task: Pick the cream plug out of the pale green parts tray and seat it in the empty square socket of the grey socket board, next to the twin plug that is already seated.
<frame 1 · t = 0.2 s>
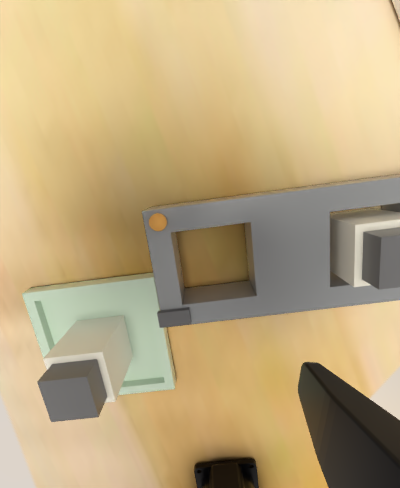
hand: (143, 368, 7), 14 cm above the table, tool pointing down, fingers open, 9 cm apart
parts tray: (107, 335, 23), on the table
grey socket board: (278, 245, 21), on the table
plug: (105, 338, 22), resting on parts tray
twin plug: (345, 236, 20), resting in grey socket board
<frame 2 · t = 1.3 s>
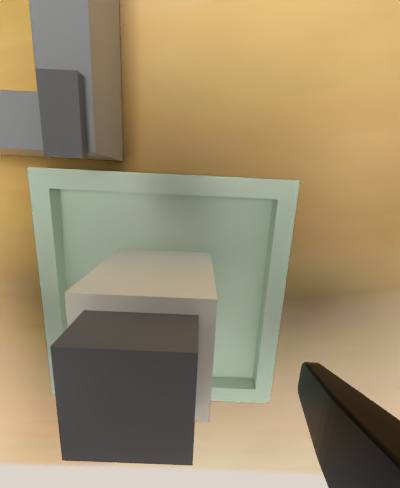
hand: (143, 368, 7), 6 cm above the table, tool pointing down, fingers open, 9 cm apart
parts tray: (166, 288, 12), on the table
plug: (164, 292, 12), resting on parts tray
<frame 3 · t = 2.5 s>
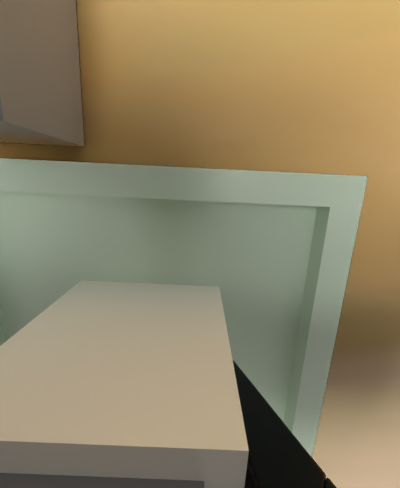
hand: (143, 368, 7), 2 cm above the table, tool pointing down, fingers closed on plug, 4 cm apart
parts tray: (153, 334, 9), on the table
plug: (150, 343, 8), resting on parts tray, touching gripper
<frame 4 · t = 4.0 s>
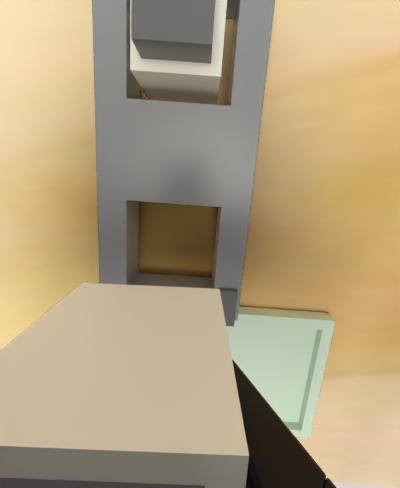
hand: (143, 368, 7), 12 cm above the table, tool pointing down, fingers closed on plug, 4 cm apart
parts tray: (248, 367, 21), on the table
grey socket board: (180, 160, 17), on the table
plug: (150, 345, 8), point 11 cm above the table, touching gripper
twin plug: (185, 68, 16), resting in grey socket board
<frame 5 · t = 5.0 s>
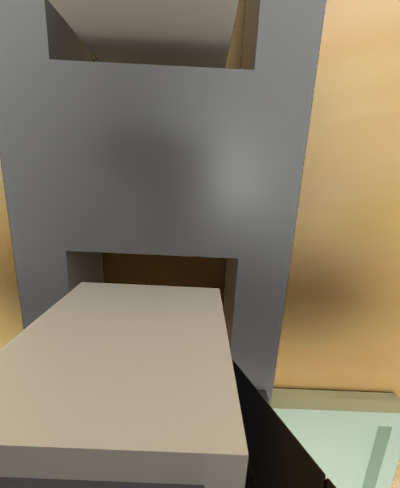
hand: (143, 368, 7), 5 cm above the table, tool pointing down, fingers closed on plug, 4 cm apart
parts tray: (276, 469, 14), on the table
grey socket board: (165, 172, 10), on the table
plug: (150, 345, 8), point 4 cm above the table, touching gripper
twin plug: (168, 16, 9), resting in grey socket board
when the fingers open (3 cm above the table, at t = 5.6 s): plug drops 2 cm, resting in grey socket board.
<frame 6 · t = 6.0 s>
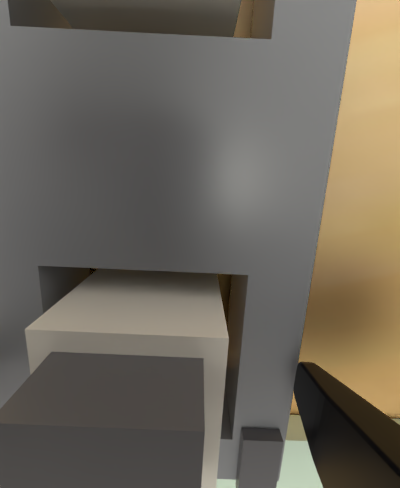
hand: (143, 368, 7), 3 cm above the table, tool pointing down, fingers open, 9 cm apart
grey socket board: (161, 170, 9), on the table
plug: (161, 310, 10), resting in grey socket board
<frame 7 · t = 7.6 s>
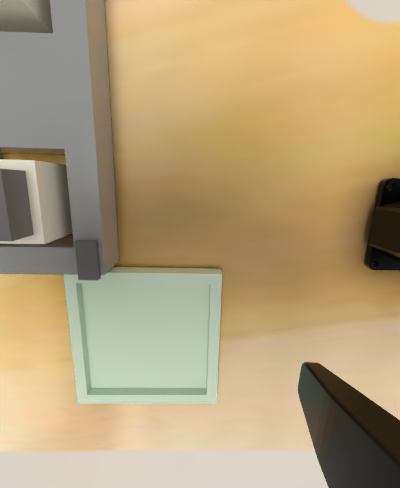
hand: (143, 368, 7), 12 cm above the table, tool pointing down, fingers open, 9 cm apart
parts tray: (148, 333, 20), on the table
grey socket board: (39, 109, 16), on the table
plug: (50, 198, 17), resting in grey socket board
twin plug: (28, 6, 15), resting in grey socket board
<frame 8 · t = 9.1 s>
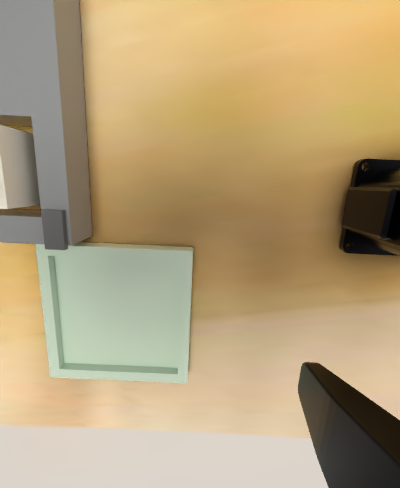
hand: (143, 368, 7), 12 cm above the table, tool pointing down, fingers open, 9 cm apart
parts tray: (121, 310, 20), on the table
grey socket board: (13, 80, 16), on the table
plug: (25, 170, 17), resting in grey socket board
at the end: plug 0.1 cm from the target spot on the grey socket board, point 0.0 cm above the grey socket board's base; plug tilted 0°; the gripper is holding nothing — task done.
